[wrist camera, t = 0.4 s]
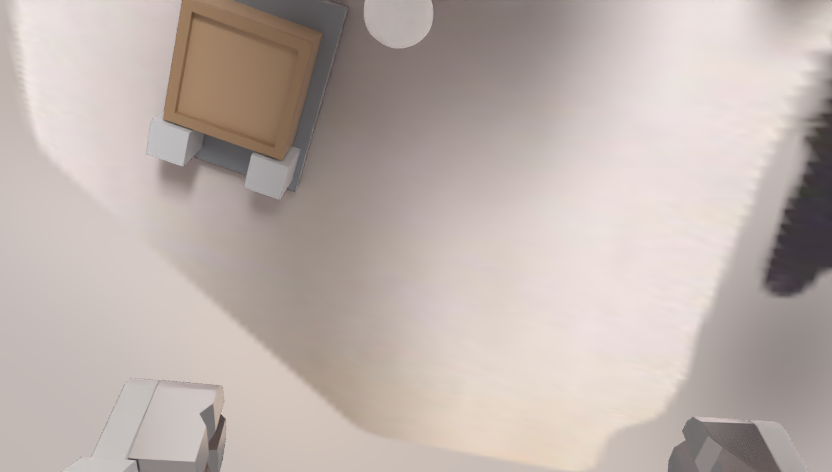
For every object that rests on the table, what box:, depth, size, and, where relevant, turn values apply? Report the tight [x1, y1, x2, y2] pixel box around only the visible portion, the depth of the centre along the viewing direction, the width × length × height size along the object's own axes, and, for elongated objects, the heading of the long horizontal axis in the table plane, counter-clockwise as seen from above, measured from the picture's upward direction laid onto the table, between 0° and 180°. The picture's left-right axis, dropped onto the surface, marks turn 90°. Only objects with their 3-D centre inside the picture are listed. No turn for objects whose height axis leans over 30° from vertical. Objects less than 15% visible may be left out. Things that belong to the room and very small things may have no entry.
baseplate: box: [146, 0, 349, 200], centre depth 54 cm, size 16×12×5 cm
